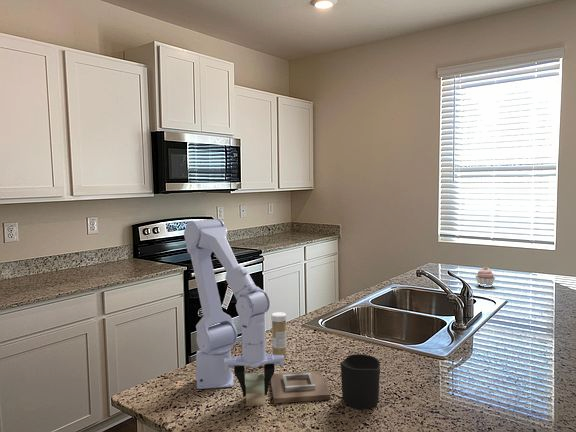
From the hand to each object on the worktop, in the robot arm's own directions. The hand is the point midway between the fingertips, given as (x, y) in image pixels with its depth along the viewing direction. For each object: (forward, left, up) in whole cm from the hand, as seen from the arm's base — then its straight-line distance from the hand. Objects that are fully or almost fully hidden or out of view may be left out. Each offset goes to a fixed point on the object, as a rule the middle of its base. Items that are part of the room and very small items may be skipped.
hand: (255, 394), depth 111 cm
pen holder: (+26, -4, -2) cm, 26 cm away
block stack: (0, 0, -2) cm, 2 cm away
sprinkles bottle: (+9, +27, -2) cm, 28 cm away
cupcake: (+118, +100, -2) cm, 154 cm away
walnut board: (+12, +5, -2) cm, 13 cm away
